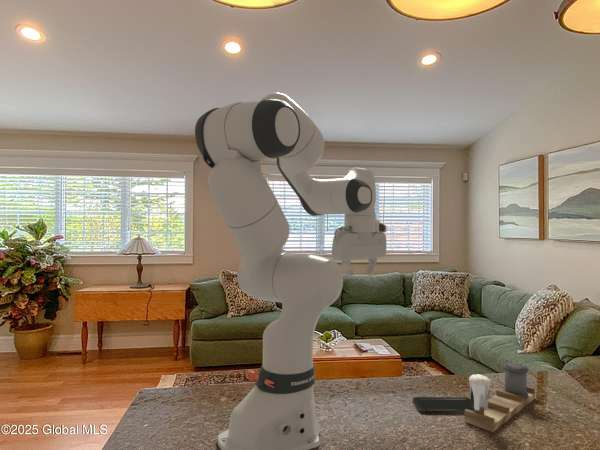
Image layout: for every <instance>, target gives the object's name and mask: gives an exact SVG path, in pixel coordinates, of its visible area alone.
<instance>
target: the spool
mask: <svg viewBox="0 0 600 450" xmlns="http://www.w3.org/2000/svg"><path fill="white" fill-rule="evenodd" d="M502 365H503V366H502V368H503V370H504V388H503V389H502V390H503V391H505V392H509V393H512V394H515V395H519V396H522V397H524V398H527V397H528V392H527V391H526V390H527V386H528V385H527V383H528V382H527V376H528V375H527V374H528V372H529V368H528V366H525V365H523V364H519V363H511V362H508V363H507V362H505V363H504V364H502Z"/></svg>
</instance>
